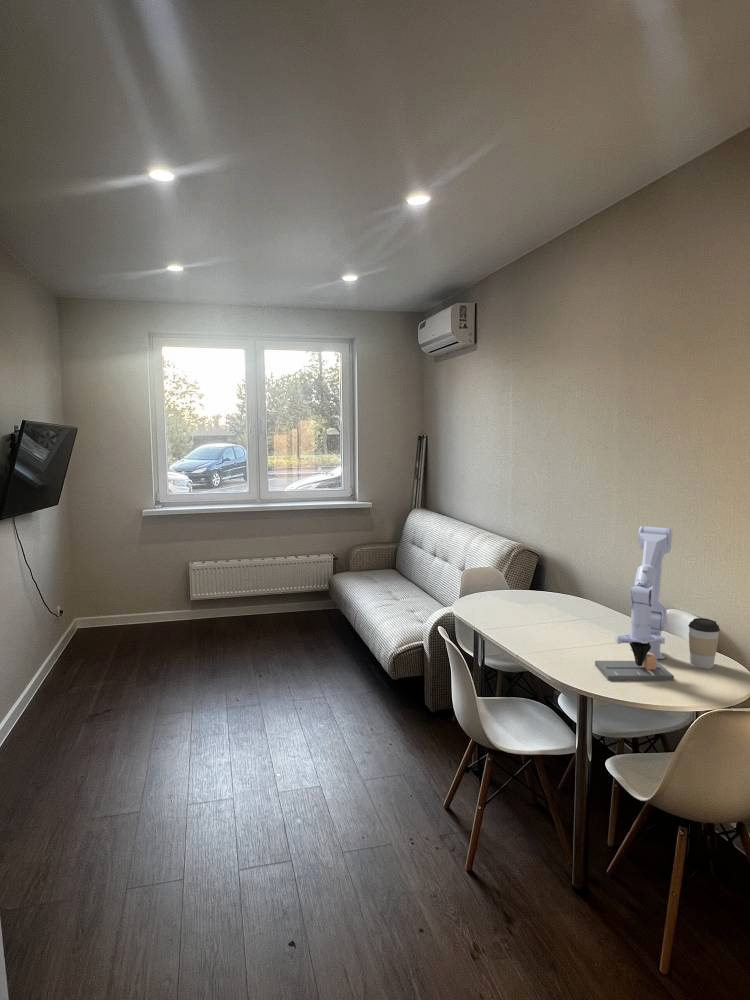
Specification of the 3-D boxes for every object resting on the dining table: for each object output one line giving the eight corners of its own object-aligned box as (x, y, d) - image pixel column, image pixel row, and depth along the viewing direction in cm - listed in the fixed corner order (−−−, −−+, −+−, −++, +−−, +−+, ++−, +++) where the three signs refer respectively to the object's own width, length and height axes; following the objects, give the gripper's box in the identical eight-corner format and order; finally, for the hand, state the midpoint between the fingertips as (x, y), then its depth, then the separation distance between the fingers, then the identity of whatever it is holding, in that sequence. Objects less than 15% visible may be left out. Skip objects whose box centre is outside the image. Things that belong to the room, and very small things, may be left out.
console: (595, 665, 197) (595, 660, 197) (656, 665, 196) (657, 660, 196) (608, 680, 185) (608, 675, 185) (673, 680, 184) (674, 675, 184)
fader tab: (641, 664, 192) (641, 651, 192) (650, 664, 192) (651, 652, 192) (646, 669, 188) (647, 656, 188) (656, 669, 188) (656, 656, 188)
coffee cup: (684, 666, 196) (687, 621, 194) (688, 657, 203) (690, 614, 201) (716, 672, 191) (719, 626, 189) (718, 662, 198) (721, 618, 196)
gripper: (622, 627, 185) (620, 669, 187) (670, 627, 184) (667, 669, 186) (613, 620, 192) (612, 660, 194) (659, 620, 191) (657, 661, 193)
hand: (638, 664), depth 190 cm, fingers closed
